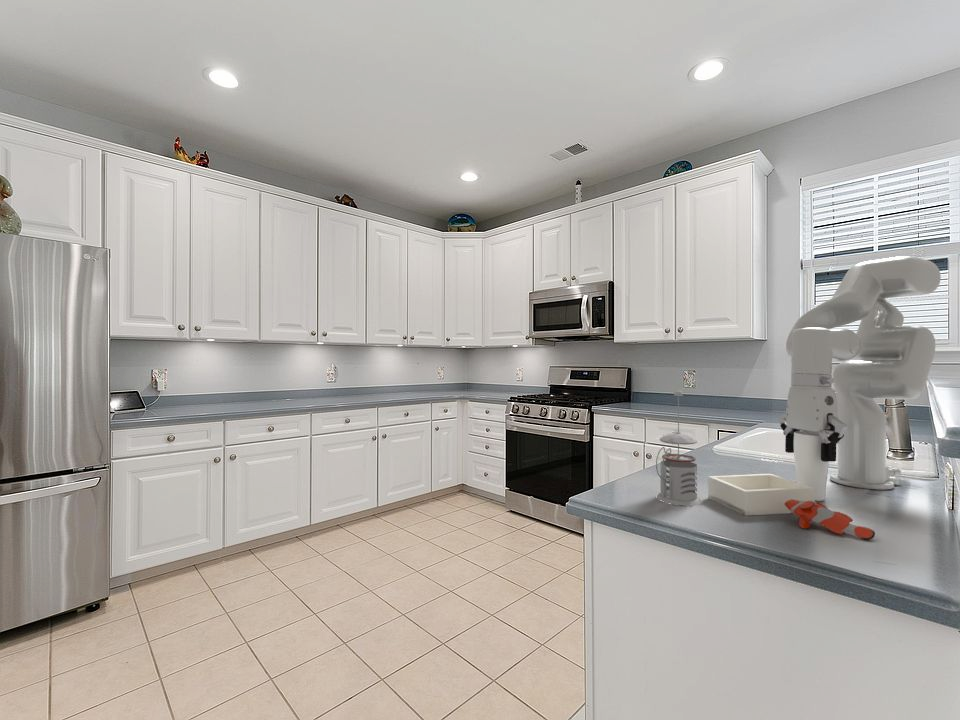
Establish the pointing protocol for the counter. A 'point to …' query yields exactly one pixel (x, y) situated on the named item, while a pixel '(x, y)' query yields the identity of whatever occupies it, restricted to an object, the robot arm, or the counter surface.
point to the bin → (757, 493)
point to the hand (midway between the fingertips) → (809, 456)
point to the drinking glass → (810, 462)
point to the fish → (826, 518)
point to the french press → (678, 470)
